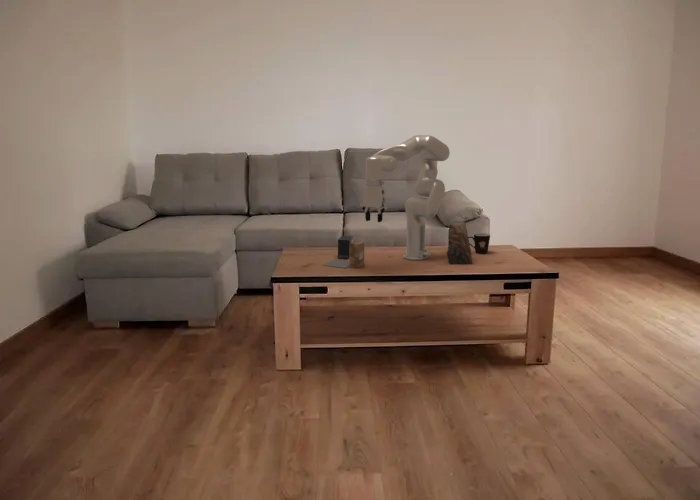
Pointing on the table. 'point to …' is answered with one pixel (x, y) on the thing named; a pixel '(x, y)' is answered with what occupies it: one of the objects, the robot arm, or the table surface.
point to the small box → (344, 246)
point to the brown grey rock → (458, 244)
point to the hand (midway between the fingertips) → (373, 220)
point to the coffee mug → (481, 242)
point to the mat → (338, 264)
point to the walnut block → (356, 254)
